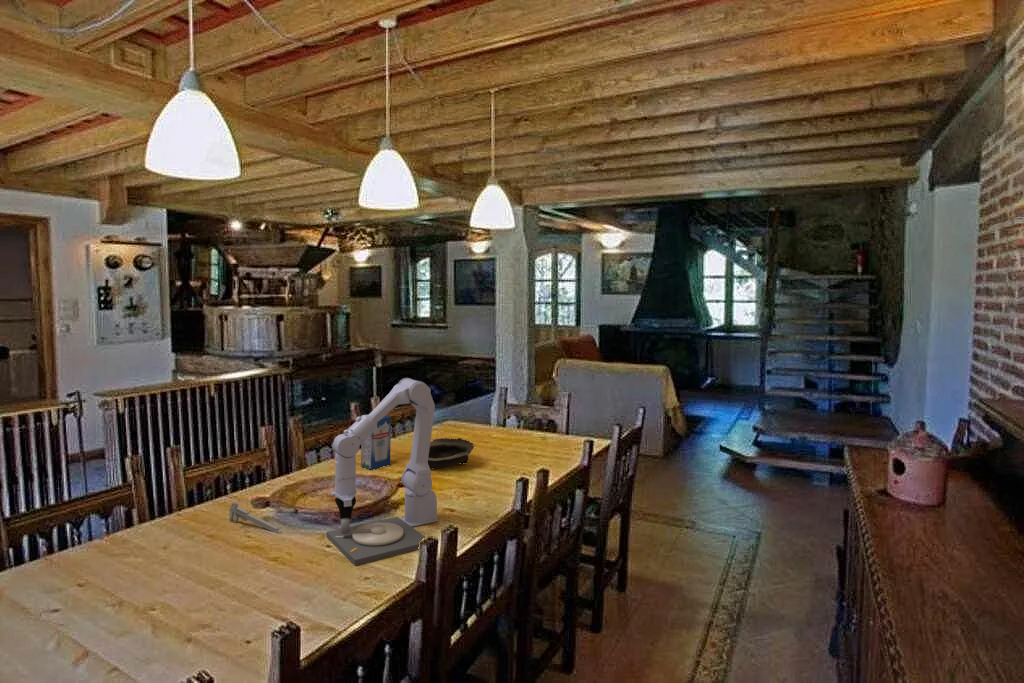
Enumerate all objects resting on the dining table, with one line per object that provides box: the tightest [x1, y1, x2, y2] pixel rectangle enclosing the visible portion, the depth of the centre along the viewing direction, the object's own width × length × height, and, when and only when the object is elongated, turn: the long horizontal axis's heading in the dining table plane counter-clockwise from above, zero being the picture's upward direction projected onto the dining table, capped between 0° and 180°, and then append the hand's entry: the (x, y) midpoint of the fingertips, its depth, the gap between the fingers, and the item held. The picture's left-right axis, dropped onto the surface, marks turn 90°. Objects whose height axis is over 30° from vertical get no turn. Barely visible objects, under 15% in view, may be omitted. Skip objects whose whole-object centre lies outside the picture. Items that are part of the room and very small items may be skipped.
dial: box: [340, 518, 403, 546], centre depth 169 cm, size 17×14×5 cm
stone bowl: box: [428, 437, 475, 469], centre depth 246 cm, size 25×25×9 cm
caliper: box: [228, 501, 283, 534], centre depth 178 cm, size 20×1×6 cm, turn 65°
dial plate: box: [325, 516, 426, 567], centre depth 169 cm, size 22×22×2 cm
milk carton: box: [360, 415, 392, 471], centre depth 242 cm, size 10×6×20 cm, turn 143°
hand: (345, 522), depth 172 cm, fingers closed
